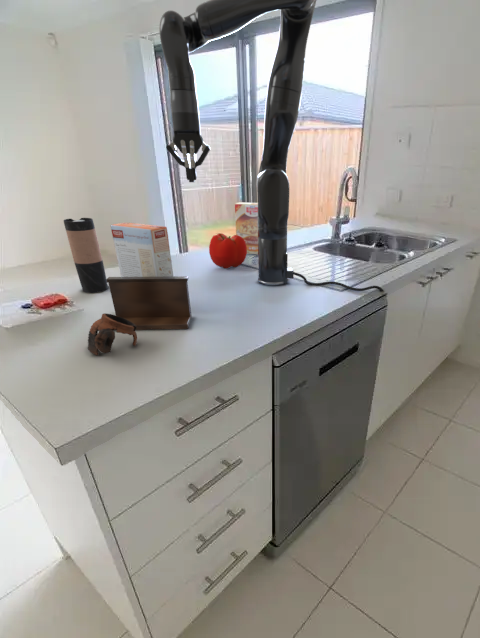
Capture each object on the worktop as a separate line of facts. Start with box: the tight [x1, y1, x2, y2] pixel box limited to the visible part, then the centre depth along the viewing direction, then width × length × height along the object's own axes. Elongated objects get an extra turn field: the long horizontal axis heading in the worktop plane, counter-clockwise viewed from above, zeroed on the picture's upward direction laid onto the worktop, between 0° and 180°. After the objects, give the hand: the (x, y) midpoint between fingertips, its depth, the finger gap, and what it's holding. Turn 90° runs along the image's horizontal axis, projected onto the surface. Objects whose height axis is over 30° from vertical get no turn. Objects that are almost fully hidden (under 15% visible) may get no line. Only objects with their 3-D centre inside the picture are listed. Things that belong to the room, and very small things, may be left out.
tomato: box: [208, 232, 248, 270], centre depth 136 cm, size 13×14×12 cm
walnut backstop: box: [106, 275, 193, 331], centre depth 88 cm, size 19×7×11 cm, turn 94°
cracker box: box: [110, 222, 174, 277], centre depth 97 cm, size 14×6×21 cm, turn 61°
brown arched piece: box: [87, 313, 138, 356], centre depth 78 cm, size 12×10×8 cm
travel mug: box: [63, 217, 109, 294], centre depth 109 cm, size 8×8×20 cm
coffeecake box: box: [234, 201, 258, 256], centre depth 154 cm, size 15×7×20 cm, turn 81°
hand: (192, 182), depth 112 cm, fingers closed
